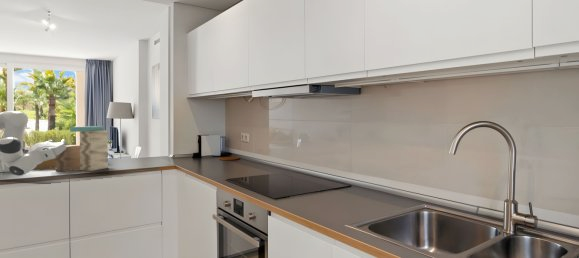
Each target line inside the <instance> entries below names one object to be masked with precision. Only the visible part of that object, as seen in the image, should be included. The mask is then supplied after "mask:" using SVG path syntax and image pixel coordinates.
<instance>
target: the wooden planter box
mask: <svg viewBox="0 0 579 258" xmlns="http://www.w3.org/2000/svg"><path fill="white" fill-rule="evenodd" d="M47 168H48V169H56V158H54V159H51V160H47V161H43V162H42V163H40V164H38V165H37V166H36V167H35V168H34V169H33V170H42V169H47ZM48 169H47V170H48Z"/></svg>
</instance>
